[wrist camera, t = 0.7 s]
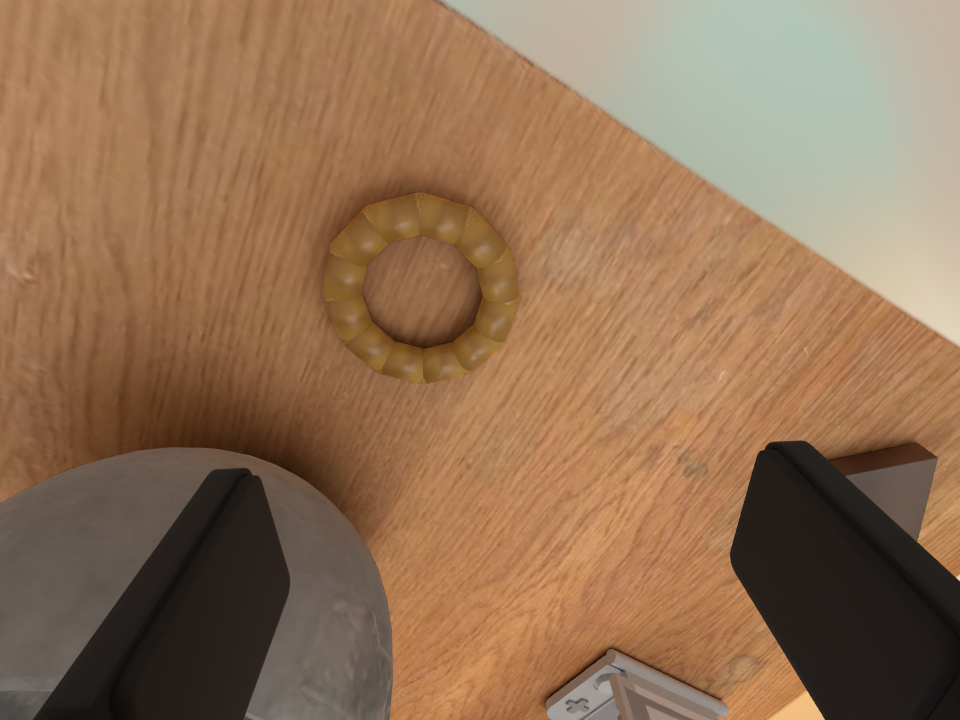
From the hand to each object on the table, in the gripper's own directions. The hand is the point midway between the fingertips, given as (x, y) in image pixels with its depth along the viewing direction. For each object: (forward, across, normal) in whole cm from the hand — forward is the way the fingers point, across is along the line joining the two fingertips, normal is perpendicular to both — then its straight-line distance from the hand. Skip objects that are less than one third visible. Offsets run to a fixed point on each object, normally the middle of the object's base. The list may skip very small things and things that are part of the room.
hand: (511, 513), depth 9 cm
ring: (+15, +3, +1) cm, 15 cm away
